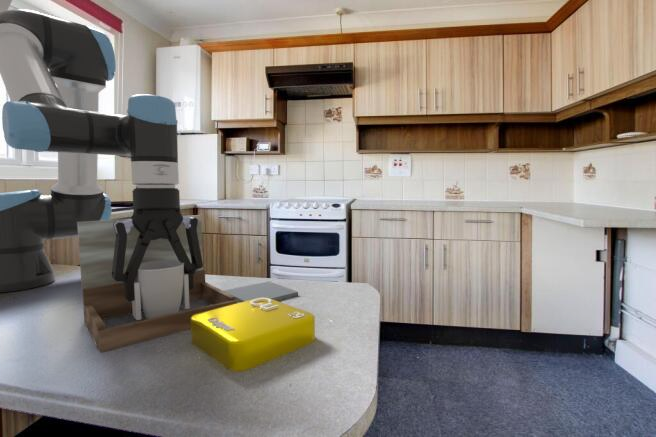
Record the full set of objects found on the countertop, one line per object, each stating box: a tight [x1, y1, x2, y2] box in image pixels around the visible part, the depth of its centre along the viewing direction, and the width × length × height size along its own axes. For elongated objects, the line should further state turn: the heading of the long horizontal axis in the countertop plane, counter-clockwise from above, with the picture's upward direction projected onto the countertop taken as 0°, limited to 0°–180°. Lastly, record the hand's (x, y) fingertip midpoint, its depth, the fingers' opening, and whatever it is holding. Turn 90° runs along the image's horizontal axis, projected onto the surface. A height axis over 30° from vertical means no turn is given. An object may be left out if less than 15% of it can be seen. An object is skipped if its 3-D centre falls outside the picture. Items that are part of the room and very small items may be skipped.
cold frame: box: [77, 214, 239, 353], centre depth 65 cm, size 17×22×18 cm
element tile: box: [190, 297, 316, 372], centre depth 57 cm, size 15×15×5 cm
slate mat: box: [223, 281, 299, 303], centre depth 80 cm, size 12×12×1 cm
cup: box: [136, 260, 184, 320], centre depth 66 cm, size 8×8×10 cm
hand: (161, 311), depth 66 cm, fingers closed on cup, 8 cm apart
